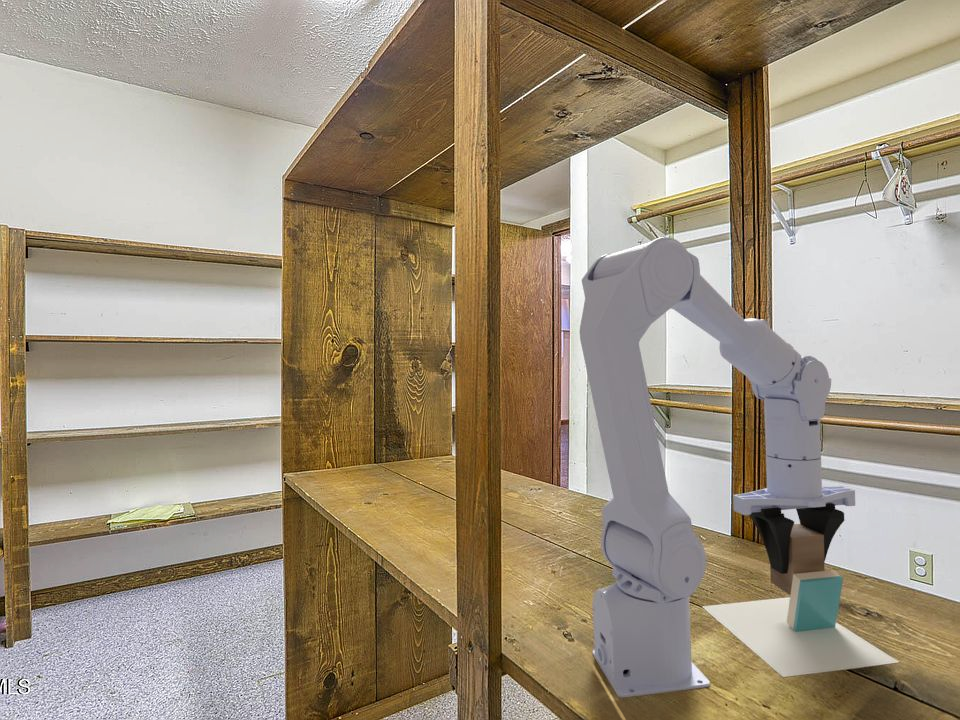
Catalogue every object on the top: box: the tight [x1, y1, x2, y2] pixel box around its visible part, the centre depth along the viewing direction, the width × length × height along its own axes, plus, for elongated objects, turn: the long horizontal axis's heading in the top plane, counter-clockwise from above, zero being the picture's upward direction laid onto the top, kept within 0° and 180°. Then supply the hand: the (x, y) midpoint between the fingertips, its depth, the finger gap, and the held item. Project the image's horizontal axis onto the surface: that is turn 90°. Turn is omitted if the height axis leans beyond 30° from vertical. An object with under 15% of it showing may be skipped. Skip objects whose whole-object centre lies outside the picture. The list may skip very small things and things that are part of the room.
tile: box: [787, 569, 844, 632], centre depth 61 cm, size 5×2×6 cm, turn 97°
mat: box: [701, 596, 900, 678], centre depth 61 cm, size 13×15×1 cm
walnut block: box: [769, 523, 826, 596], centre depth 64 cm, size 4×4×7 cm
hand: (796, 568), depth 64 cm, fingers closed on walnut block, 4 cm apart
